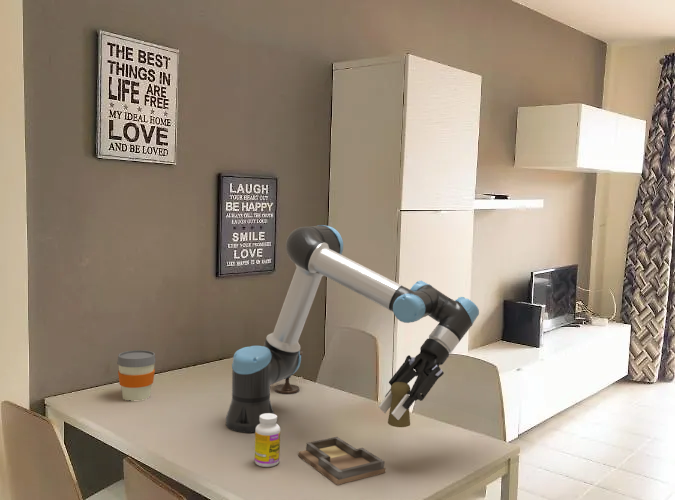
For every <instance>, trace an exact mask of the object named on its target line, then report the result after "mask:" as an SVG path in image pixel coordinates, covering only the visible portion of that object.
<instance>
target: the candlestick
mask: <svg viewBox="0 0 675 500" xmlns="http://www.w3.org/2000/svg"><path fill="white" fill-rule="evenodd" d="M300 355H301V357H302V356H304V351H303V350H302V349H300ZM290 378H292V375H291V376H290V377H288V378H286V379H284V380H285V382H284V383H283V384H277V385H276V386H274V392H275V393H277V394H280V395H294V394H297V393H299V392H300V386H299V385H296V384H292V383H290Z"/></svg>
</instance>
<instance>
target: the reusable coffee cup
mask: <svg viewBox="0 0 675 500" xmlns="http://www.w3.org/2000/svg"><path fill="white" fill-rule="evenodd" d="M116 362H117V365H118V372H117V375H118V380H119V381H118V382H119V385H120V386H121V395H122V400H124V399H125V400H124V401H126V400H131V401H130V402H135V401H134V400H142V399H146V398H148V397H149V396H150V397H151V390H152V384H154V380H155V372H156V369H155V364H156V362H157V361H156V353H155V352H154V351H151V350H144V349H138V350H137V349H135V350H126V351H123V352H119V354H118V356H117V361H116ZM148 399H149V398H148ZM146 400H147V399H146Z"/></svg>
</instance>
